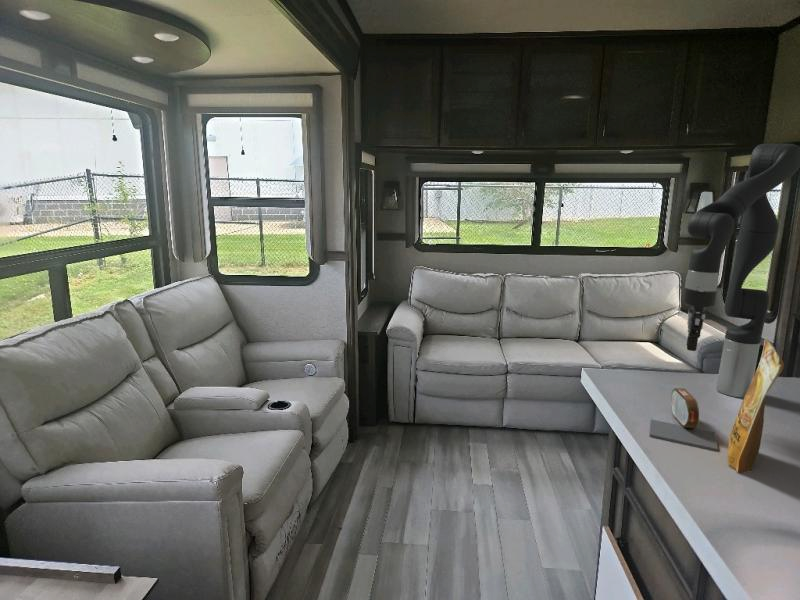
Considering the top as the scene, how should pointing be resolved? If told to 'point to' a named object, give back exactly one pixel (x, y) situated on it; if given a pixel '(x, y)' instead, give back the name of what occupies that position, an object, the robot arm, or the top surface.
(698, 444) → the mat
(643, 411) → the top surface
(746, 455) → the pancake mix bag
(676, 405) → the tin
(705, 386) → the top surface
